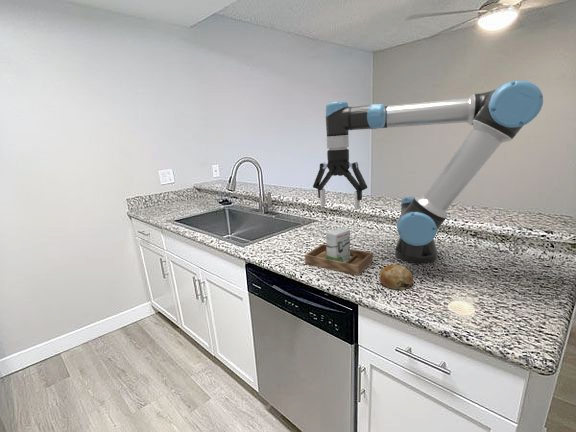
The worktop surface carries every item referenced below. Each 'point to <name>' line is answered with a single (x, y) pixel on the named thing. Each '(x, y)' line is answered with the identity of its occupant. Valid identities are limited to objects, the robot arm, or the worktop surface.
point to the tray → (350, 266)
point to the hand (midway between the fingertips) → (339, 207)
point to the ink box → (338, 244)
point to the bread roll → (396, 277)
